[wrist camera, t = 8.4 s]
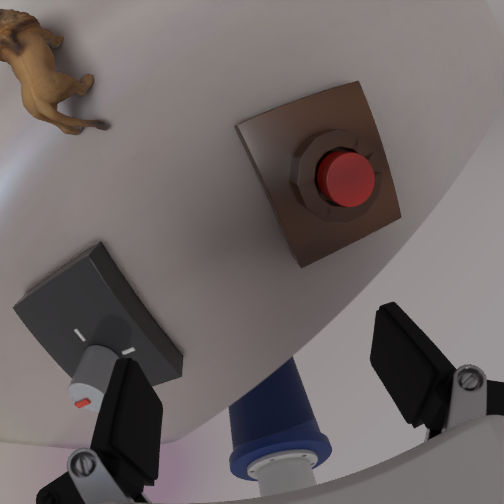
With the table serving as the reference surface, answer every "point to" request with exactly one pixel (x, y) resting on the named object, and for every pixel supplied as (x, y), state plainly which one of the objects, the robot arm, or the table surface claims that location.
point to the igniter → (307, 164)
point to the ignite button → (346, 178)
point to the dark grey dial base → (96, 317)
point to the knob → (92, 377)
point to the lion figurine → (40, 71)
